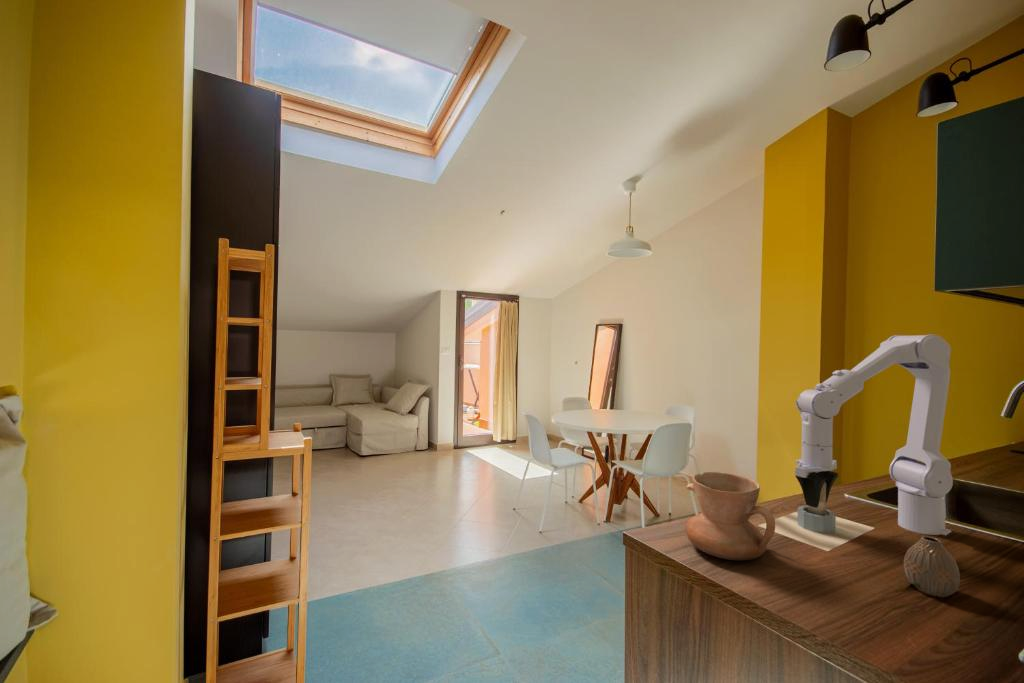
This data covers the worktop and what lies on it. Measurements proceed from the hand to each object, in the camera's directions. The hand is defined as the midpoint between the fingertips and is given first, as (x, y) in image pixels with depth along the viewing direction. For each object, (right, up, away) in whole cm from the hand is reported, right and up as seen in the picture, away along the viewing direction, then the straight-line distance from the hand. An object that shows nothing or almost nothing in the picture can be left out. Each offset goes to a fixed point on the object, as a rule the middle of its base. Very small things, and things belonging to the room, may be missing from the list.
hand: (816, 504), depth 99 cm
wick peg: (0, -2, 0) cm, 2 cm away
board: (0, -6, 0) cm, 6 cm away
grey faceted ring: (0, -5, 0) cm, 5 cm away
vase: (+3, -6, -24) cm, 25 cm away
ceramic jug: (-25, -6, -11) cm, 28 cm away
